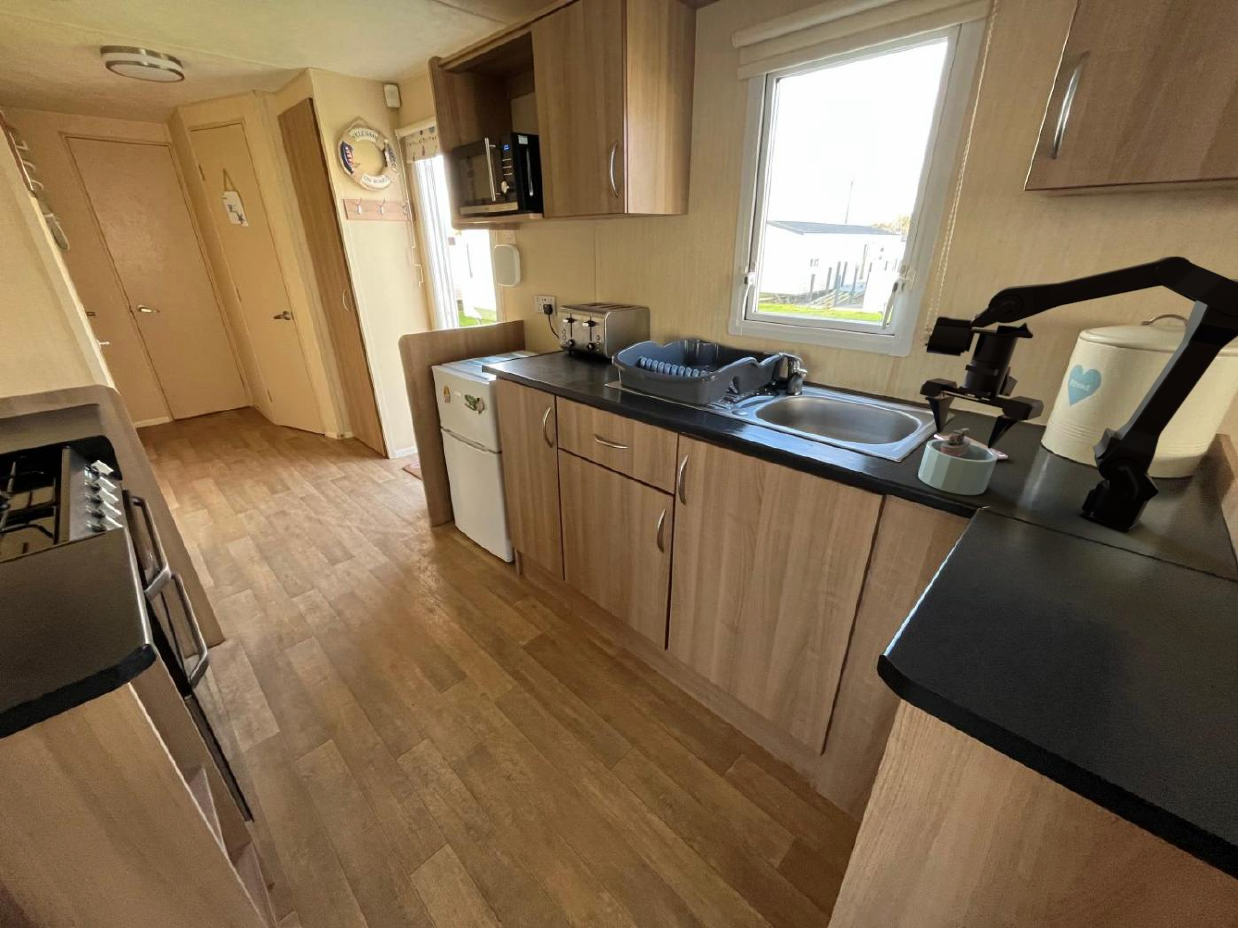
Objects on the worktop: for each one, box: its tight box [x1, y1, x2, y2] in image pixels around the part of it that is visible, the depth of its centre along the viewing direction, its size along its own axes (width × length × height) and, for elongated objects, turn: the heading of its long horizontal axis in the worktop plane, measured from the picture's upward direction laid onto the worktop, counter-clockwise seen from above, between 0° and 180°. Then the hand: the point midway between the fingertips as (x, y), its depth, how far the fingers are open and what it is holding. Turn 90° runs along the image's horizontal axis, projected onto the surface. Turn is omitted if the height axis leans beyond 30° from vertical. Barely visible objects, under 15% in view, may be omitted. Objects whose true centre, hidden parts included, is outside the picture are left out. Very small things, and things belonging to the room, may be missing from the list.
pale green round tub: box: [917, 438, 998, 496], centre depth 97 cm, size 12×12×7 cm
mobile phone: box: [933, 433, 1009, 461], centre depth 115 cm, size 8×1×15 cm
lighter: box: [941, 427, 971, 459], centre depth 97 cm, size 8×3×10 cm, turn 124°
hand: (963, 440), depth 94 cm, fingers open, 9 cm apart
